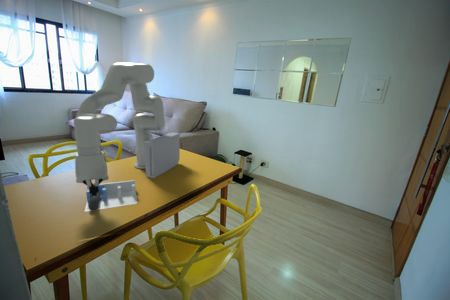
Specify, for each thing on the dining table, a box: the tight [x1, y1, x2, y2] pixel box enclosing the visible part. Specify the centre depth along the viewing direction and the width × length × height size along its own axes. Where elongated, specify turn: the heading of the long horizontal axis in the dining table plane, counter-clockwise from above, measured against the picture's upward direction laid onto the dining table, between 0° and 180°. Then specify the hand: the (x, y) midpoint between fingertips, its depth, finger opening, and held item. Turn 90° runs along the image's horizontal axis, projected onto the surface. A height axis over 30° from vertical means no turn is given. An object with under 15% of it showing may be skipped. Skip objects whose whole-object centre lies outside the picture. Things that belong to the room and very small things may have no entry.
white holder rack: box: [84, 179, 138, 213], centre depth 93 cm, size 16×19×6 cm
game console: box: [145, 131, 181, 179], centre depth 126 cm, size 6×27×20 cm, turn 162°
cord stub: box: [89, 192, 100, 211], centre depth 88 cm, size 10×3×3 cm, turn 25°
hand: (94, 194), depth 85 cm, fingers closed
